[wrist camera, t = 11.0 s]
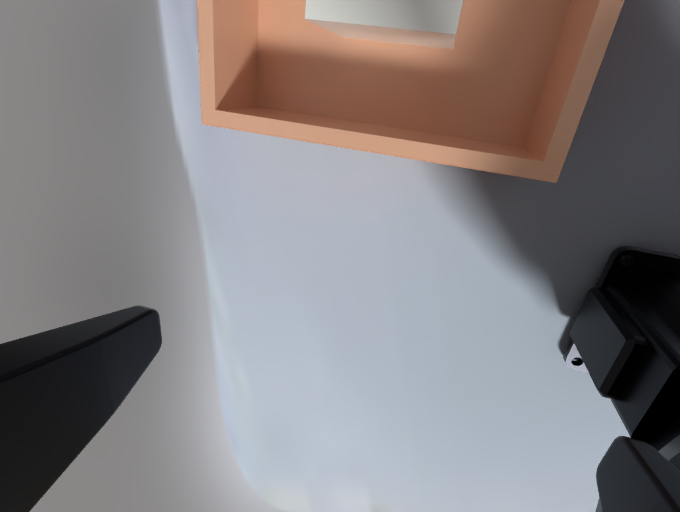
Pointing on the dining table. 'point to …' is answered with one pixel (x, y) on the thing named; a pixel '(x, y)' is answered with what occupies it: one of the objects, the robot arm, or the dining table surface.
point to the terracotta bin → (410, 82)
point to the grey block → (390, 20)
